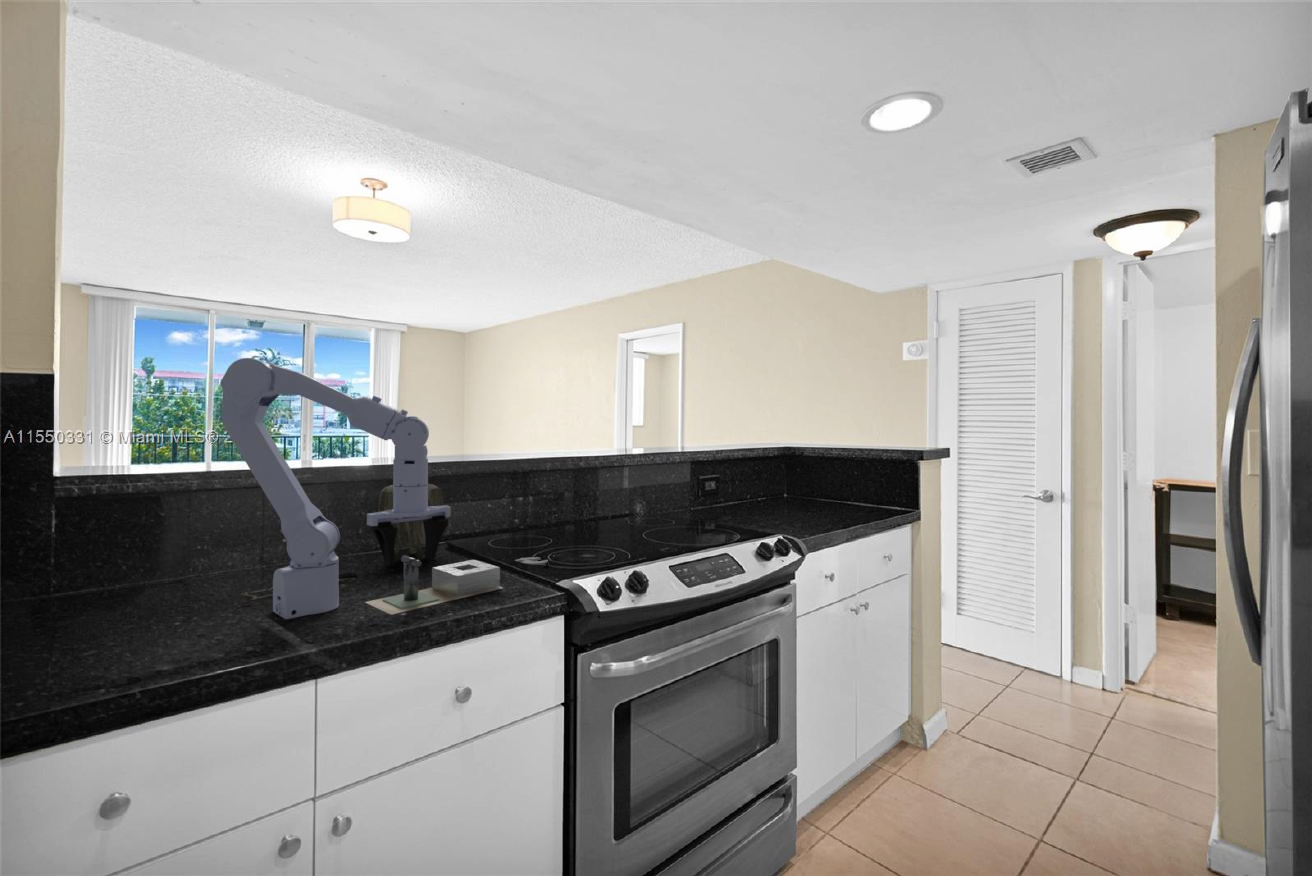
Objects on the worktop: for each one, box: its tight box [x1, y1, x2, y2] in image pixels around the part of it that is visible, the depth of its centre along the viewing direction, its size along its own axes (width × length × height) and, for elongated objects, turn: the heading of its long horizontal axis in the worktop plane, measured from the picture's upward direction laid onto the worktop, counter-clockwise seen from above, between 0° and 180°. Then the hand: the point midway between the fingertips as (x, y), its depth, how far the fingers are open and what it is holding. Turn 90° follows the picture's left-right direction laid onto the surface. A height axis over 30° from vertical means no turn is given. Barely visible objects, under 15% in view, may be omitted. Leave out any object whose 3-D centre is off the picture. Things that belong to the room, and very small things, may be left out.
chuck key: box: [400, 555, 422, 601], centre depth 110 cm, size 2×6×7 cm, turn 49°
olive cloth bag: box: [377, 483, 444, 561], centre depth 146 cm, size 14×9×25 cm, turn 174°
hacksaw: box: [232, 569, 359, 608], centre depth 121 cm, size 24×10×2 cm, turn 136°
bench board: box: [364, 586, 503, 616], centre depth 114 cm, size 22×10×1 cm, turn 139°
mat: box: [382, 590, 439, 609], centre depth 110 cm, size 7×7×1 cm
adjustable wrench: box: [514, 556, 549, 566], centre depth 139 cm, size 25×6×2 cm, turn 107°
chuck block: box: [431, 559, 501, 598], centre depth 118 cm, size 9×9×4 cm
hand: (410, 561), depth 110 cm, fingers open, 7 cm apart
